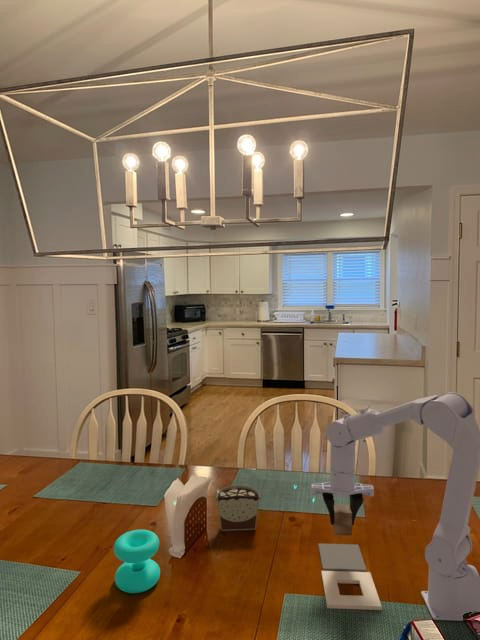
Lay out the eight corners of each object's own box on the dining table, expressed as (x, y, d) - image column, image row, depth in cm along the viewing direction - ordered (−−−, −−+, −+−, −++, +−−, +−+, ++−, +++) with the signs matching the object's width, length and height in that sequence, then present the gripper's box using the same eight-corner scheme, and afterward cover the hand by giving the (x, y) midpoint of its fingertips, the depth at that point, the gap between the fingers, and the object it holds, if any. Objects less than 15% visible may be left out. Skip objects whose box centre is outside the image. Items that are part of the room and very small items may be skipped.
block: (348, 526, 114) (349, 504, 113) (351, 535, 110) (352, 513, 109) (332, 525, 114) (332, 504, 114) (334, 535, 110) (334, 512, 110)
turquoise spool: (132, 558, 97) (104, 541, 103) (134, 603, 98) (105, 583, 104) (168, 537, 105) (140, 522, 111) (169, 578, 106) (141, 561, 112)
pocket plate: (370, 575, 106) (370, 572, 106) (381, 610, 95) (381, 606, 95) (321, 573, 107) (321, 570, 107) (327, 608, 96) (327, 604, 96)
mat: (358, 546, 118) (358, 544, 118) (366, 571, 108) (366, 569, 108) (318, 544, 118) (318, 543, 118) (322, 569, 108) (322, 568, 108)
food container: (259, 517, 132) (259, 483, 131) (261, 529, 126) (261, 494, 125) (216, 518, 132) (215, 484, 131) (215, 530, 125) (215, 495, 124)
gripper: (369, 462, 114) (368, 514, 116) (310, 461, 115) (309, 513, 117) (376, 474, 107) (375, 530, 109) (313, 473, 108) (312, 528, 110)
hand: (341, 522), depth 112 cm, fingers closed on block, 4 cm apart
